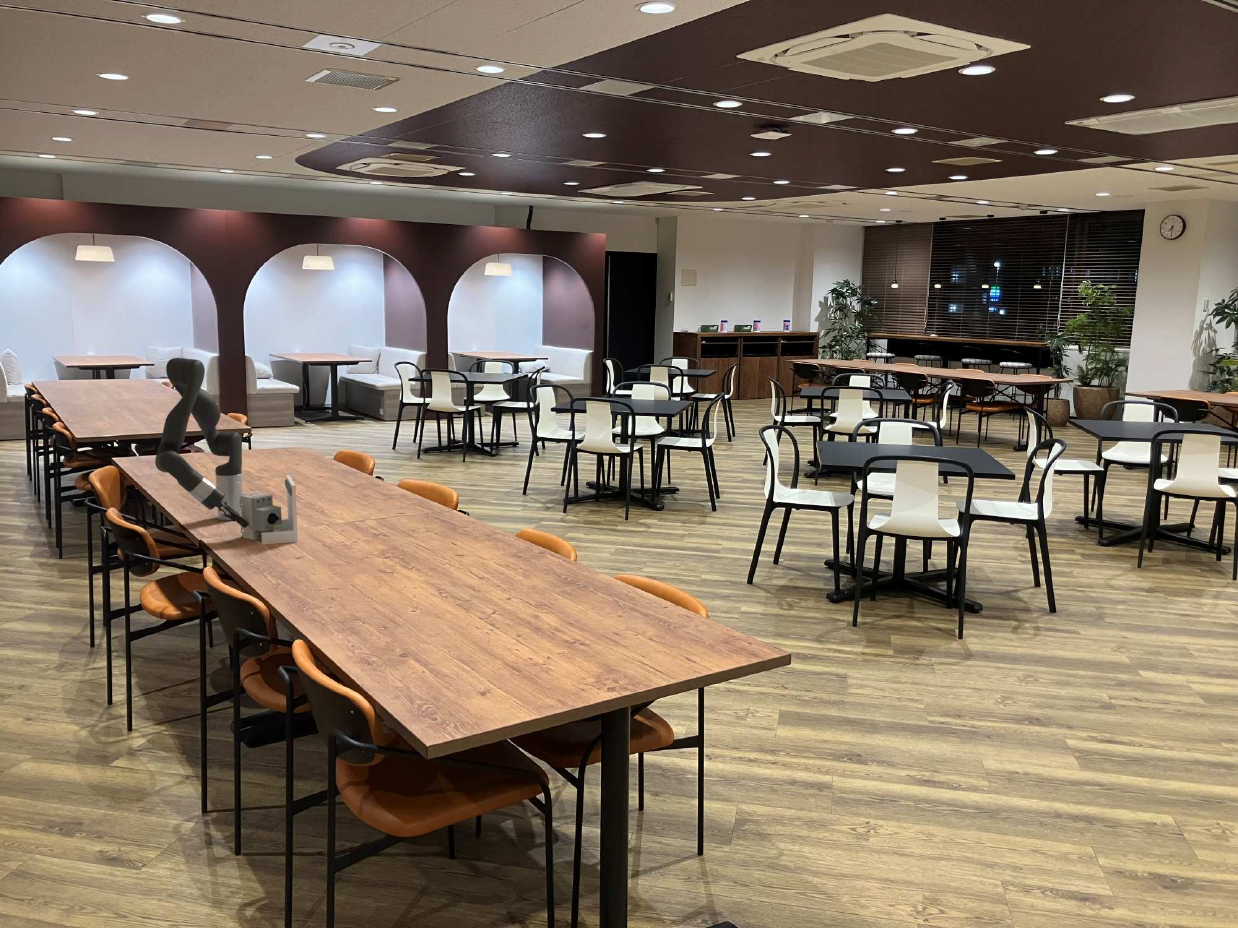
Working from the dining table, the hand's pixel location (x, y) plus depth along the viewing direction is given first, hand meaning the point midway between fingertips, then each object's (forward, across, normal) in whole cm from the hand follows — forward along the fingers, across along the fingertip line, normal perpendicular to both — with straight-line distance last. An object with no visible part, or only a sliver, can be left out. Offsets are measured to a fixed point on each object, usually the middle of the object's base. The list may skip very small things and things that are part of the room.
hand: (246, 525), depth 344 cm
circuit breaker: (+7, 0, 0) cm, 7 cm away
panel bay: (+10, 0, -4) cm, 11 cm away
